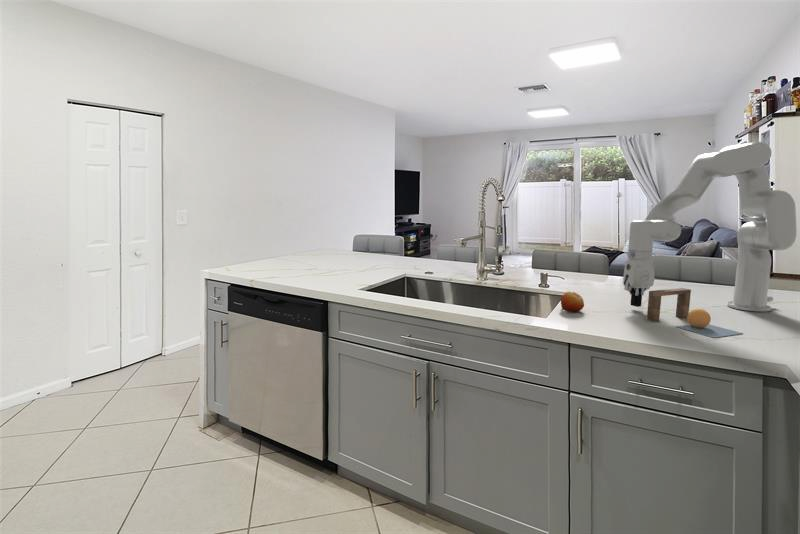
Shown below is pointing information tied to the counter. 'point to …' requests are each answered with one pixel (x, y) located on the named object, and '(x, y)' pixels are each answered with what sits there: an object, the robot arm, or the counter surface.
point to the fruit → (572, 302)
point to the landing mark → (711, 331)
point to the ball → (699, 318)
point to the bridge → (655, 296)
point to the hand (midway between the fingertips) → (635, 305)
